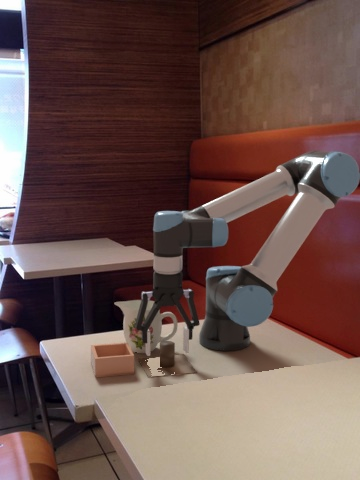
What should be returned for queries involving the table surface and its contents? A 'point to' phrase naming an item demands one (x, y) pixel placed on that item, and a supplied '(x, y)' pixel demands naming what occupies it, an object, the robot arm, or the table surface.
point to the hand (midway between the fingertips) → (167, 352)
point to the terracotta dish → (112, 359)
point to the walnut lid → (170, 361)
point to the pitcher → (135, 335)
